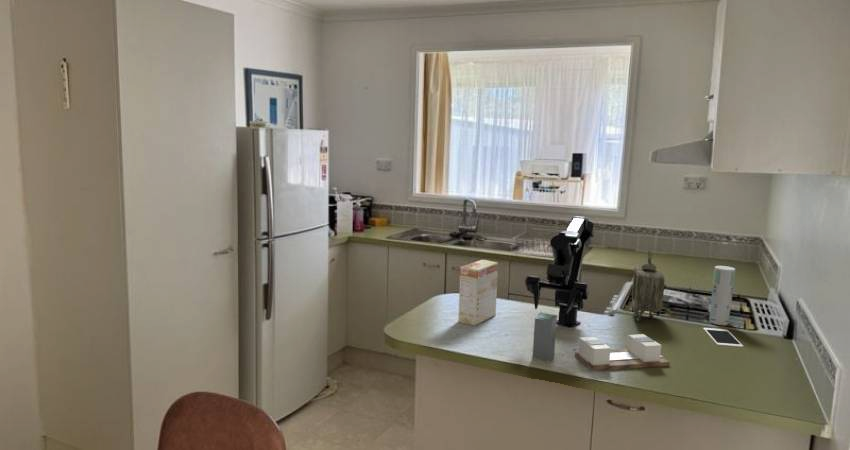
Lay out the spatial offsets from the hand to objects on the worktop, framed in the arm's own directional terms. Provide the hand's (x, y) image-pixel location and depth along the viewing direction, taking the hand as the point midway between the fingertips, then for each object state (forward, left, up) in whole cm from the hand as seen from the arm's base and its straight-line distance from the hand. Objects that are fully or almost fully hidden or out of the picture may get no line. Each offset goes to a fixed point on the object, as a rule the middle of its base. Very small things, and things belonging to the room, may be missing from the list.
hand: (550, 311), depth 176 cm
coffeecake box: (-4, -33, -12) cm, 36 cm away
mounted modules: (-9, +18, -11) cm, 23 cm away
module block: (+5, +2, -12) cm, 13 cm away
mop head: (-53, +4, -12) cm, 55 cm away
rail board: (-9, +18, -12) cm, 24 cm away
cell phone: (-55, +30, -13) cm, 64 cm away
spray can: (-70, +23, -12) cm, 75 cm away
